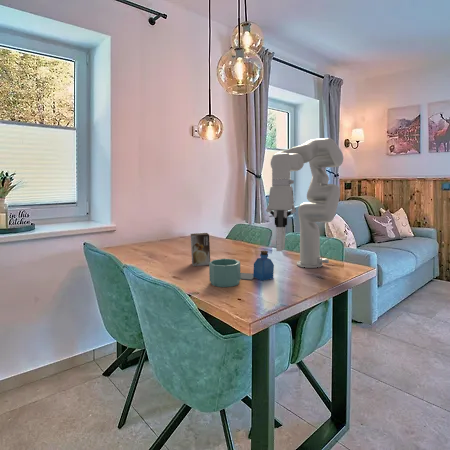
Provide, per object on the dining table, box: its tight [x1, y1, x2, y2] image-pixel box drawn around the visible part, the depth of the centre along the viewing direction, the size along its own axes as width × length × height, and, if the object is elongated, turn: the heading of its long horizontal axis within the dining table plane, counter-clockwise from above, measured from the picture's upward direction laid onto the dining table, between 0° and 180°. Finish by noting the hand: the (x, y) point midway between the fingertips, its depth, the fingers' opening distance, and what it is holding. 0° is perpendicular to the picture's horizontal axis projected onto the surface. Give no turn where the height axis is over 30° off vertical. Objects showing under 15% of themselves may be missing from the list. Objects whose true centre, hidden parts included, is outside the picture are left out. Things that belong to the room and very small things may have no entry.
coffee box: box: [190, 232, 211, 267], centre depth 180 cm, size 9×6×16 cm
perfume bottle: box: [252, 250, 275, 282], centre depth 153 cm, size 6×6×12 cm
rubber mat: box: [240, 272, 255, 281], centre depth 157 cm, size 12×9×1 cm
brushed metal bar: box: [275, 210, 286, 252], centre depth 148 cm, size 2×9×18 cm, turn 160°
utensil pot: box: [208, 258, 242, 288], centre depth 148 cm, size 12×12×9 cm
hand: (280, 226), depth 148 cm, fingers closed on brushed metal bar, 2 cm apart
